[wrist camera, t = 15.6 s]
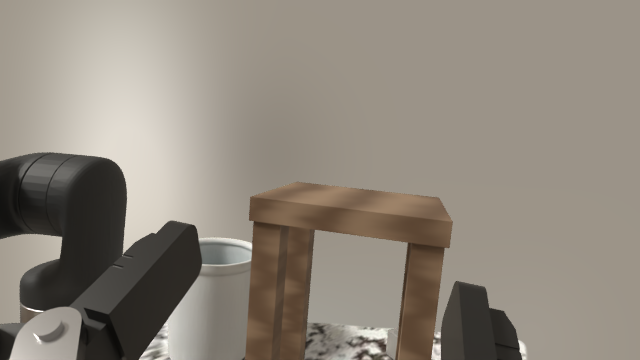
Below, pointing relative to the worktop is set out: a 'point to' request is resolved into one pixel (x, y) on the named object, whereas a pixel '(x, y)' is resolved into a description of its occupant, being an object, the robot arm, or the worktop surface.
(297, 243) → the stool
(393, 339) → the lighter
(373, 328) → the worktop surface
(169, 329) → the utensil holder
